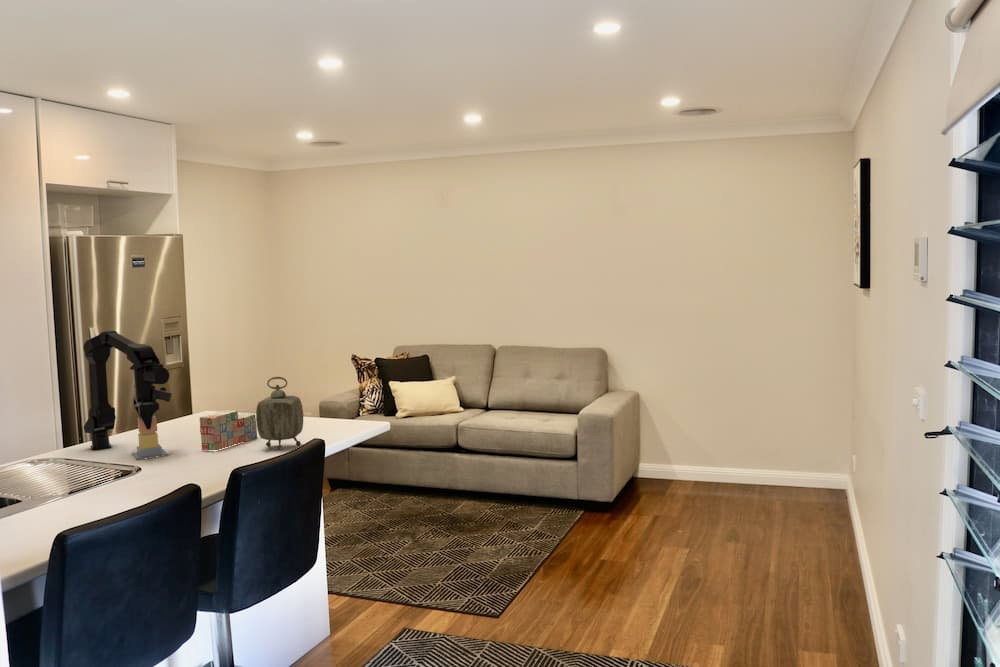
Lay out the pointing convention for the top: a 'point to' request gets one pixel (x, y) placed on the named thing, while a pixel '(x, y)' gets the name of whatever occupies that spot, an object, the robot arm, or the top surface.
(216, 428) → the stack of blocks
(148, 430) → the terracotta brick
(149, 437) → the mustard brick
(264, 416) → the tabletop clock
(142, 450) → the baseplate
